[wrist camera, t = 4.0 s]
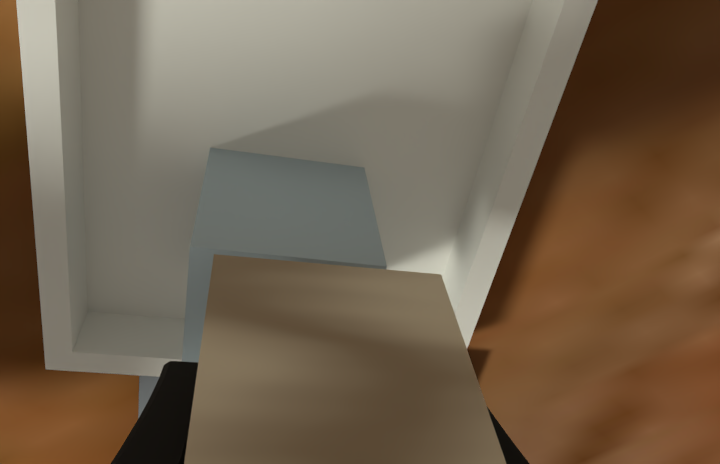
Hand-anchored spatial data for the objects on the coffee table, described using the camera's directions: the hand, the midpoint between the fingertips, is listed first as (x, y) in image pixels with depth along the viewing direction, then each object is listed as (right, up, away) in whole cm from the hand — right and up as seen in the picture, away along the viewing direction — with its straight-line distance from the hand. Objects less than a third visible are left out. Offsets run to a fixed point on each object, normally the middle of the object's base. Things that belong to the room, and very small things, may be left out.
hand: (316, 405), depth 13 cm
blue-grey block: (-2, +4, +7) cm, 8 cm away
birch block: (0, +1, +1) cm, 1 cm away
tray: (-1, +7, +6) cm, 9 cm away
